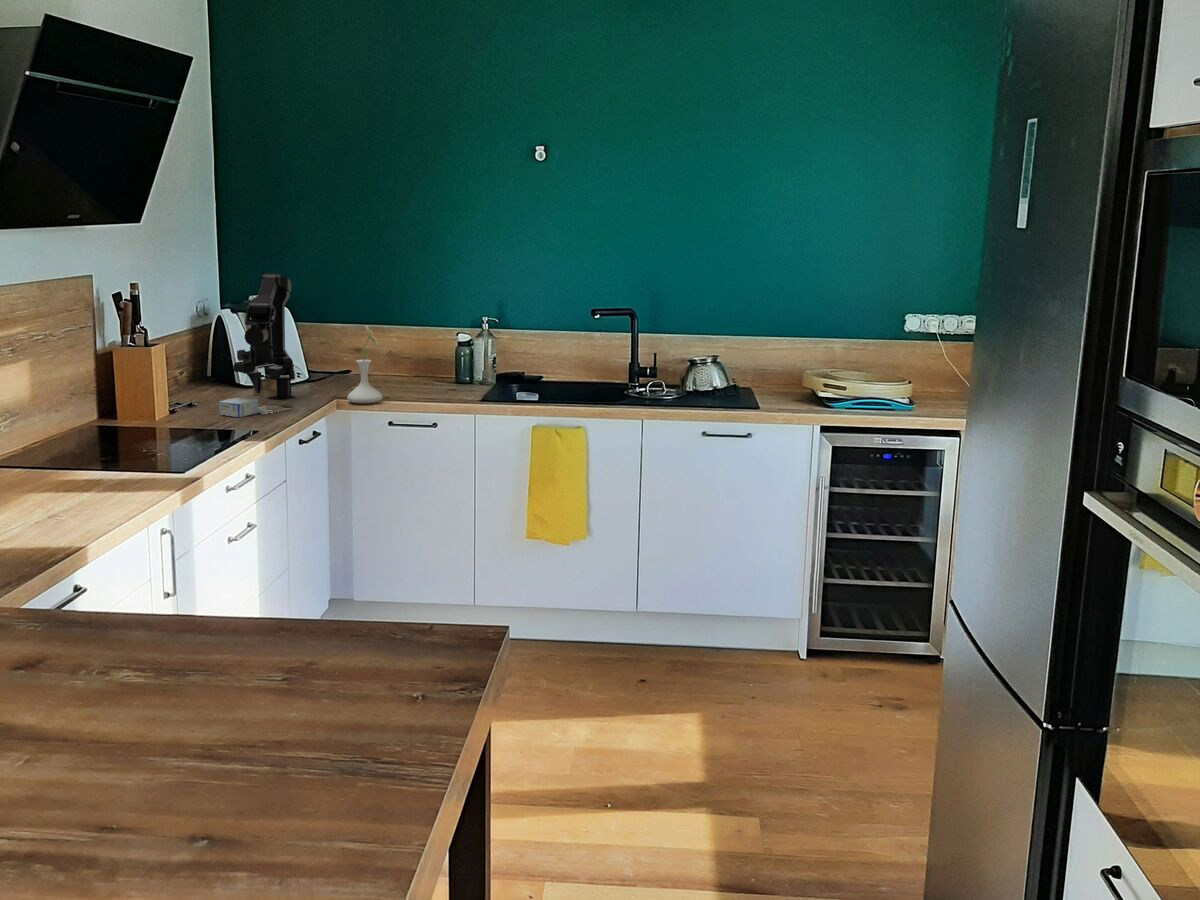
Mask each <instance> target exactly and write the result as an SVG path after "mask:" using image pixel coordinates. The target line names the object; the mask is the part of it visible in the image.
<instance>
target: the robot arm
mask: <svg viewBox="0 0 1200 900" xmlns="http://www.w3.org/2000/svg"><path fill="white" fill-rule="evenodd" d="M290 292H292V282H291V280H290V279H289V278H288V277H285V276H281V275H280V274H278V273H264V274H262V278H261V284H260V288H259V291H258V293H257V295H256V297H253V298H251V300H250V302H249V304H247V308H246V315H245V322H244V324H245V325H246V326H250V327H249V328H248V329H247V330H246V331H245V333H244V340H245V342H246V343H247V345H249V350H248V351H246V350H245V349H239V350H237V351H236V357H237V362H234V364H233V366H232V368H233V369H232V370H233V372H235V373H241V374H245V375H247V377H249V379H250V381H251V383H252V387H253V386H254V388H255V391H256V393H260V386H261V379H262V371H259V369H262V368H263V369H264V376H265V379H273V380H276V386H277V396H273V397H270V398H269V399H273V398H276V399H275V400H284V399H283V398H286V399H290V398H289V397H292V398H295V395H292V381H293V380H296V372H295V368H294V361H293V359H292V358H291V357H290V355H289V354H288V352H287V350H286V325H285V324H286V323H285V322H286V320H285V316H286V315H285V314H286V313H285V312H286V310H285V309H286V308H285V306H286V304H287V302H288V301H289V299H290V295H291V294H290Z"/></svg>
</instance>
